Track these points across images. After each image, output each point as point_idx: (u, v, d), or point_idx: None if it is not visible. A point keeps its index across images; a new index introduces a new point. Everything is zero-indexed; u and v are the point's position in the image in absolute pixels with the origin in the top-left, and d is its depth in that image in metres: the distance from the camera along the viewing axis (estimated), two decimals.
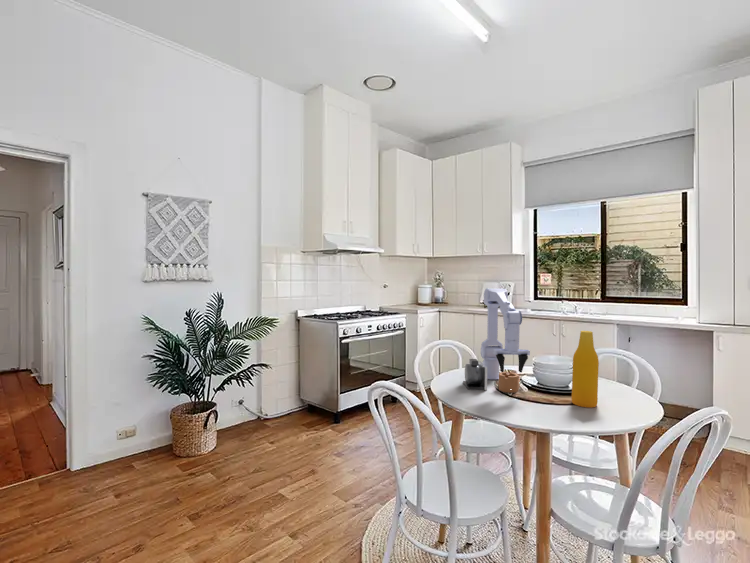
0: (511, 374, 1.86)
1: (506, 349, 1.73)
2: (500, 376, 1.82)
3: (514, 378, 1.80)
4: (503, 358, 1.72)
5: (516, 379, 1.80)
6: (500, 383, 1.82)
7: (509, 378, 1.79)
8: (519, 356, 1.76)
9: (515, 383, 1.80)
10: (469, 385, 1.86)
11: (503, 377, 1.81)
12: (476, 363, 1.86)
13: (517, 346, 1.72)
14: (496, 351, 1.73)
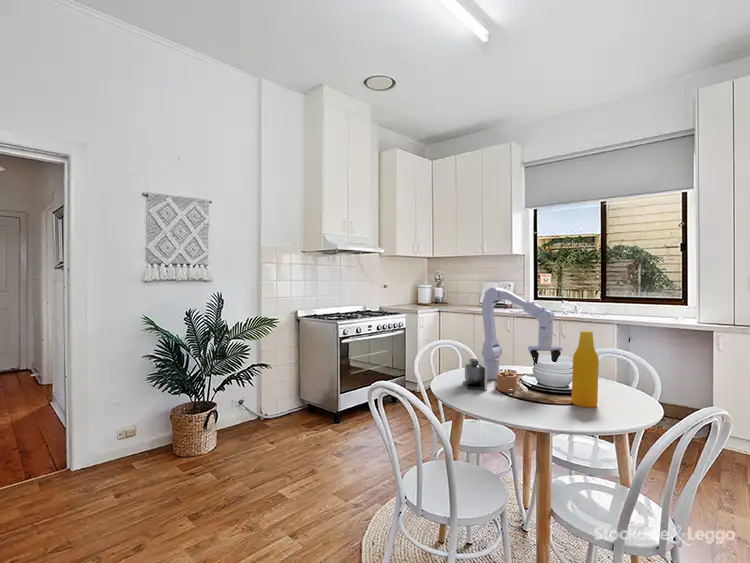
0: (509, 374, 1.86)
1: (540, 346, 1.85)
2: (498, 376, 1.83)
3: (512, 378, 1.80)
4: (537, 354, 1.84)
5: (514, 379, 1.80)
6: (498, 383, 1.83)
7: (507, 378, 1.80)
8: (552, 352, 1.87)
9: (513, 383, 1.80)
10: (469, 385, 1.86)
11: (501, 377, 1.81)
12: (476, 363, 1.86)
13: (550, 343, 1.83)
14: (530, 347, 1.85)
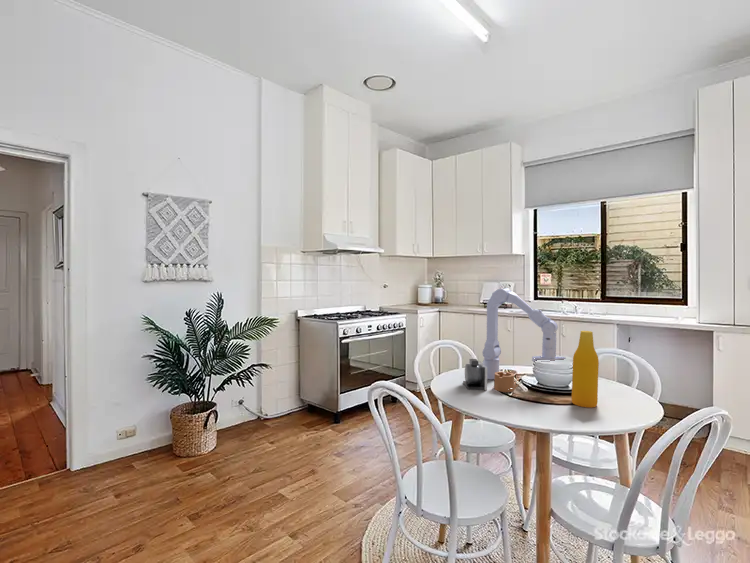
0: (507, 374, 1.86)
1: (544, 356, 1.87)
2: (495, 375, 1.84)
3: (508, 378, 1.80)
4: None
5: (511, 379, 1.80)
6: (495, 382, 1.84)
7: (503, 377, 1.80)
8: None
9: (509, 383, 1.80)
10: (469, 385, 1.86)
11: (497, 376, 1.82)
12: (476, 363, 1.86)
13: (554, 354, 1.85)
14: None
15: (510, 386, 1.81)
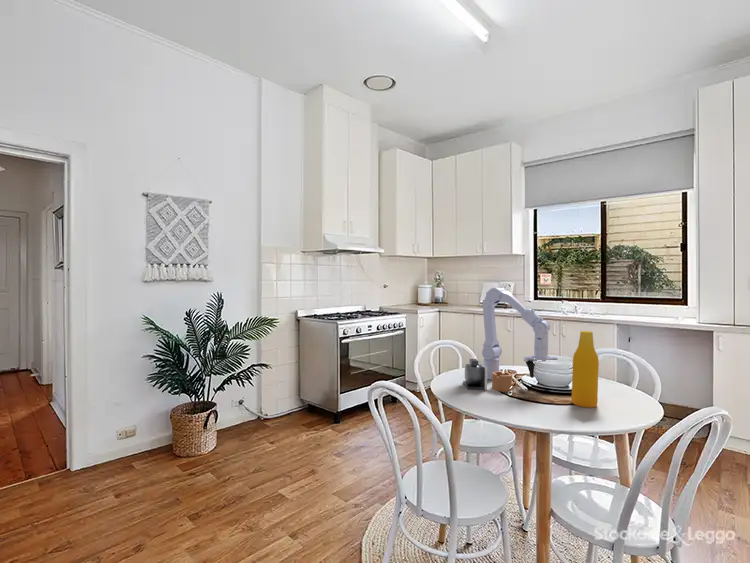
0: (506, 373, 1.86)
1: (536, 356, 1.87)
2: (493, 375, 1.84)
3: (505, 377, 1.81)
4: (533, 365, 1.85)
5: (508, 378, 1.81)
6: (492, 382, 1.84)
7: (500, 377, 1.81)
8: None
9: (507, 382, 1.81)
10: (469, 385, 1.86)
11: (495, 376, 1.83)
12: (476, 363, 1.86)
13: (546, 353, 1.85)
14: (526, 358, 1.87)
15: (507, 386, 1.81)
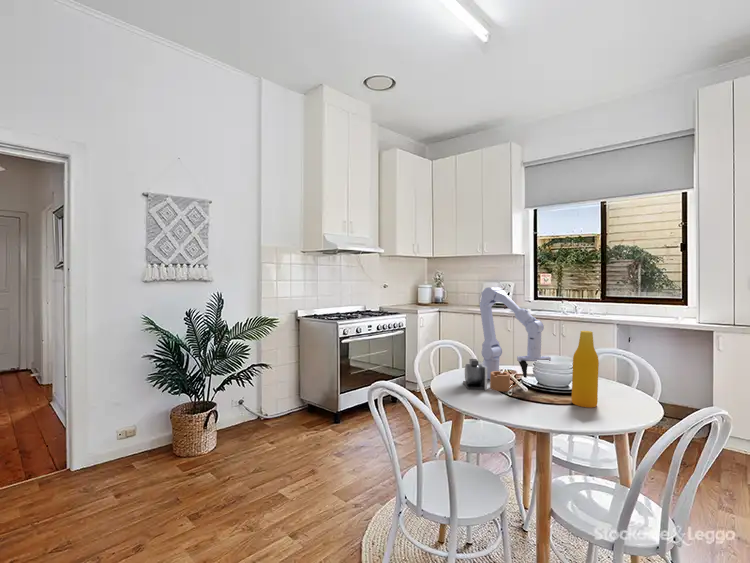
0: (504, 373, 1.87)
1: (529, 356, 1.87)
2: (490, 374, 1.85)
3: (503, 377, 1.81)
4: (526, 364, 1.85)
5: (505, 378, 1.81)
6: (490, 381, 1.85)
7: (498, 377, 1.81)
8: None
9: (504, 382, 1.81)
10: (469, 385, 1.86)
11: (492, 375, 1.83)
12: (476, 363, 1.86)
13: (539, 353, 1.85)
14: (519, 358, 1.87)
15: (505, 385, 1.81)
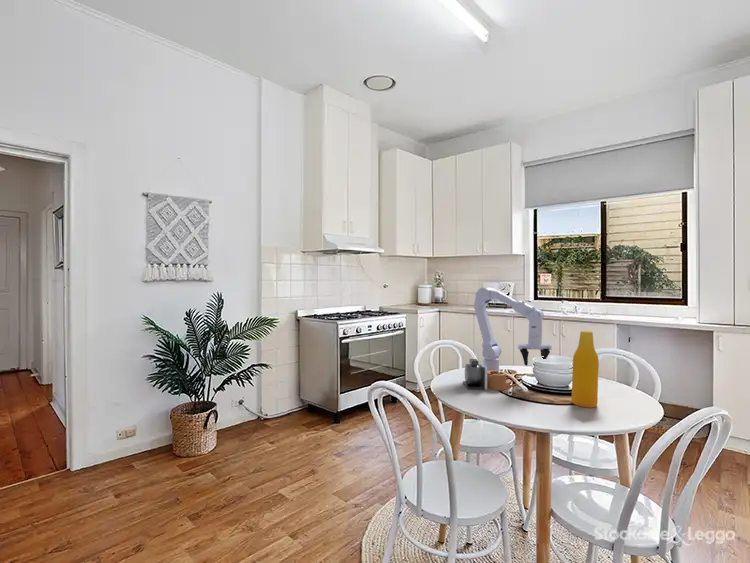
0: (501, 373, 1.87)
1: (530, 344, 1.89)
2: (487, 373, 1.87)
3: (498, 376, 1.82)
4: (527, 352, 1.88)
5: (501, 377, 1.82)
6: None
7: (493, 376, 1.83)
8: (541, 351, 1.92)
9: (499, 381, 1.82)
10: (469, 385, 1.86)
11: (488, 374, 1.85)
12: (476, 363, 1.86)
13: (540, 341, 1.88)
14: (520, 346, 1.89)
15: (500, 385, 1.82)
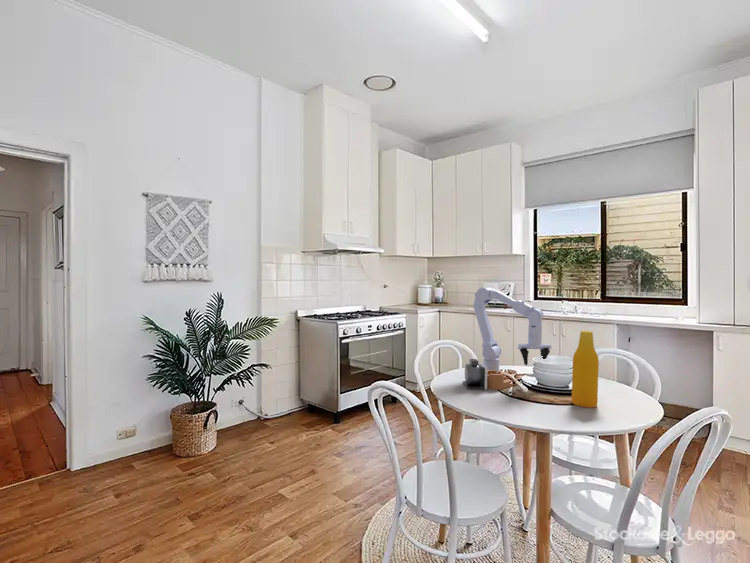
0: (499, 373, 1.88)
1: (529, 344, 1.89)
2: None
3: (495, 376, 1.83)
4: (527, 352, 1.88)
5: (498, 377, 1.83)
6: None
7: (490, 375, 1.84)
8: (541, 350, 1.92)
9: (496, 381, 1.83)
10: (469, 385, 1.86)
11: None
12: (476, 363, 1.86)
13: (540, 341, 1.88)
14: (520, 346, 1.89)
15: (497, 384, 1.83)
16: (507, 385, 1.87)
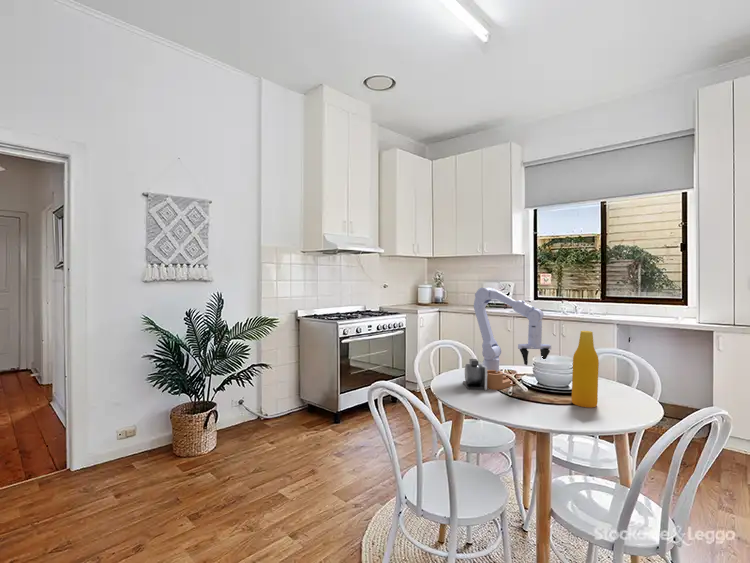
0: (498, 372, 1.88)
1: (529, 344, 1.89)
2: None
3: (494, 376, 1.83)
4: (527, 352, 1.88)
5: (496, 377, 1.83)
6: None
7: (489, 375, 1.84)
8: (541, 350, 1.92)
9: (495, 381, 1.83)
10: (469, 385, 1.86)
11: None
12: (476, 363, 1.86)
13: (540, 341, 1.88)
14: (520, 346, 1.89)
15: (496, 384, 1.83)
16: (506, 385, 1.87)
